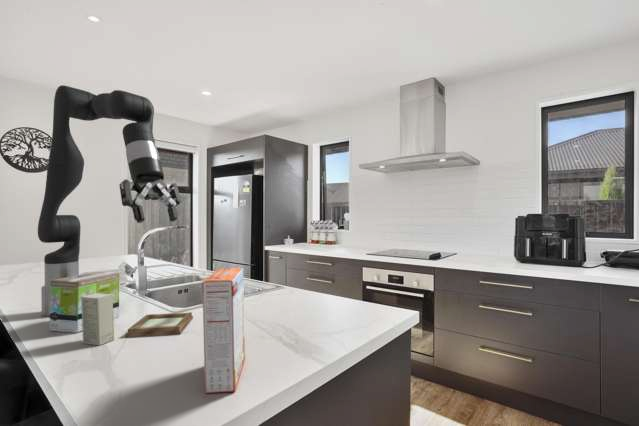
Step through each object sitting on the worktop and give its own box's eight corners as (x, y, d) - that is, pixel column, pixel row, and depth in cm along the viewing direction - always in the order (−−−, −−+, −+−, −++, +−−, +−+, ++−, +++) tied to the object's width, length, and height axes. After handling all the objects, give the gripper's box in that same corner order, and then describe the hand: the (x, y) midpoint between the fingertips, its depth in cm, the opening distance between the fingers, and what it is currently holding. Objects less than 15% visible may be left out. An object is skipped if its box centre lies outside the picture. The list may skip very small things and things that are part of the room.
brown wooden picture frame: (126, 337, 89) (126, 329, 89) (146, 320, 103) (146, 314, 103) (180, 334, 91) (180, 326, 91) (193, 318, 105) (192, 312, 105)
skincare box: (114, 339, 88) (114, 293, 88) (98, 346, 83) (98, 298, 83) (97, 337, 90) (97, 292, 90) (81, 343, 86) (80, 296, 86)
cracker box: (218, 361, 74) (217, 267, 74) (246, 359, 75) (245, 267, 75) (201, 395, 60) (200, 280, 60) (235, 393, 61) (234, 279, 61)
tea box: (78, 333, 93) (77, 280, 93) (48, 331, 95) (48, 279, 95) (120, 317, 107) (120, 271, 107) (94, 315, 109) (94, 270, 109)
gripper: (162, 171, 94) (175, 225, 90) (108, 165, 82) (121, 227, 78) (177, 159, 90) (191, 215, 87) (122, 151, 78) (136, 216, 75)
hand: (158, 221), depth 83 cm, fingers open, 8 cm apart
